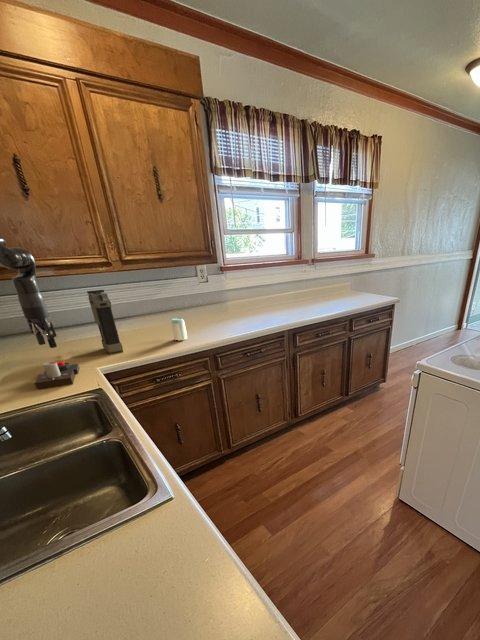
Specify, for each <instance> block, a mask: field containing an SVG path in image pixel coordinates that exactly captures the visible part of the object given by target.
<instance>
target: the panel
mask: <svg viewBox="0 0 480 640" xmlns="http://www.w3.org/2000/svg"><path fill="white" fill-rule="evenodd" d="M60 373H61V375H60V376H59V377H55V378H48V376H47V374H44V373H40V374H38V376H37V377H36V379H35V381H34V386H35V388H36V391H41V390H47V389H53V388H59V387H64V386H72V385H74V382H75V379H76V374H74V371H73V370H67V371H60Z"/></svg>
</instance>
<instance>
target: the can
mask: <svg viewBox="0 0 480 640" xmlns="http://www.w3.org/2000/svg"><path fill="white" fill-rule="evenodd" d="M171 329H172V334H173V339H174V340H175V341H176V340H178V341H177V342H181V341H180V340H184V341H186V340H188V334H187V329H186V323H185V320H184V319H183V318H182V317H174V318H172V319H171ZM185 339H186V340H185Z"/></svg>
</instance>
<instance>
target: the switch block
mask: <svg viewBox="0 0 480 640" xmlns="http://www.w3.org/2000/svg"><path fill="white" fill-rule="evenodd" d="M64 363H65V365H63V366H59V367H58V368H59V371H67V370H73V371H74V374H75V375H79V371H80V365H79V363H73V364H70V363H69V362H66V361H64ZM43 374H47V373H46V371H45V370H44V372H43Z"/></svg>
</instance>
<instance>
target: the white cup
mask: <svg viewBox="0 0 480 640" xmlns="http://www.w3.org/2000/svg"><path fill="white" fill-rule="evenodd" d="M42 366H43V368H44V372H45V371H46V373H47V376H48V378H55V377H59V376H60V375H61V373H60V371H59V368H58V365H57V362H56V361H52V360H51V361H47V362H44V363H42Z"/></svg>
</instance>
